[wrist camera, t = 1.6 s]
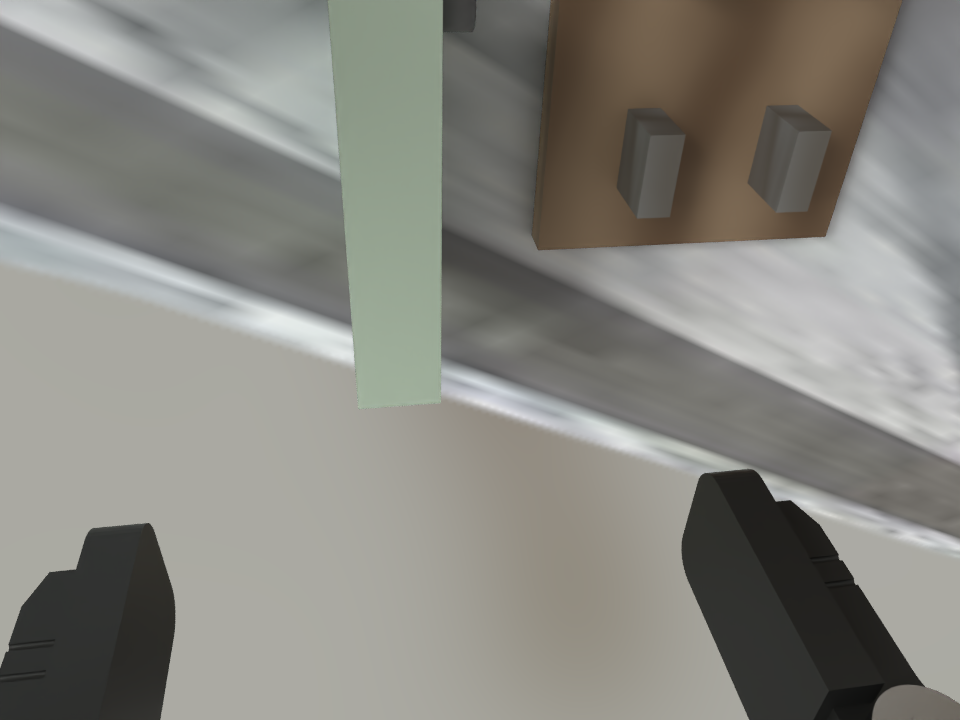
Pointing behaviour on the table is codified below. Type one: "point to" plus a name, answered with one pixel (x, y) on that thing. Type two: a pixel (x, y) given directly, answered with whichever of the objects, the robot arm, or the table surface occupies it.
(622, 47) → the wooden l-shaped stand
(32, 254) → the table surface
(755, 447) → the table surface
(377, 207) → the door
